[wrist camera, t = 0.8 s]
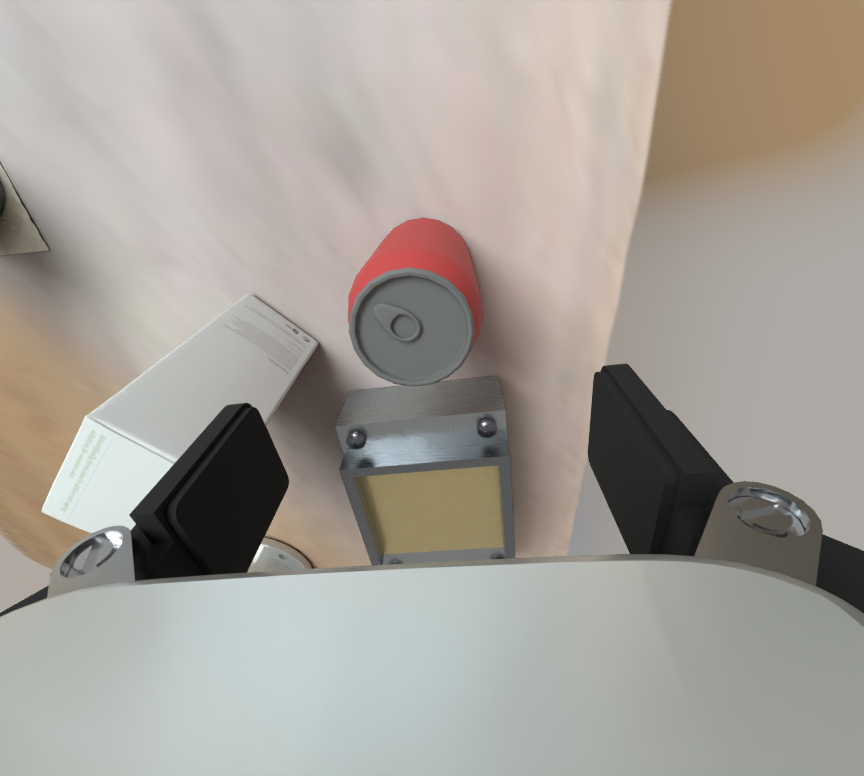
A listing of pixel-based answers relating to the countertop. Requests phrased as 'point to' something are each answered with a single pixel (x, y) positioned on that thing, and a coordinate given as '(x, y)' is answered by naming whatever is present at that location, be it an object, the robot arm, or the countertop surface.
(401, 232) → the beer can
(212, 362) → the skincare box
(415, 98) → the countertop surface
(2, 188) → the condiment
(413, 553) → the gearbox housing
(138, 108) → the countertop surface
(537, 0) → the countertop surface
